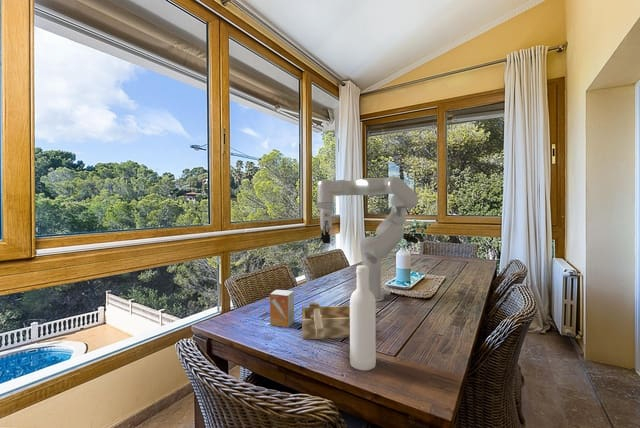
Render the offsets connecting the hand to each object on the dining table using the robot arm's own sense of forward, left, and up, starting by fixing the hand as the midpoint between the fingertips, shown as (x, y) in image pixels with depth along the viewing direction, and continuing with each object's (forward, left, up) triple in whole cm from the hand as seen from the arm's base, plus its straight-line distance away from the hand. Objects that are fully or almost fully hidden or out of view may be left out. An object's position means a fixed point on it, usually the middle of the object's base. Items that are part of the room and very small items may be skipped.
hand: (325, 241), depth 140 cm
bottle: (-6, +53, -31) cm, 61 cm away
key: (+7, +45, -22) cm, 51 cm away
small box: (+20, +21, -31) cm, 42 cm away
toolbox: (+2, +29, -30) cm, 42 cm away
